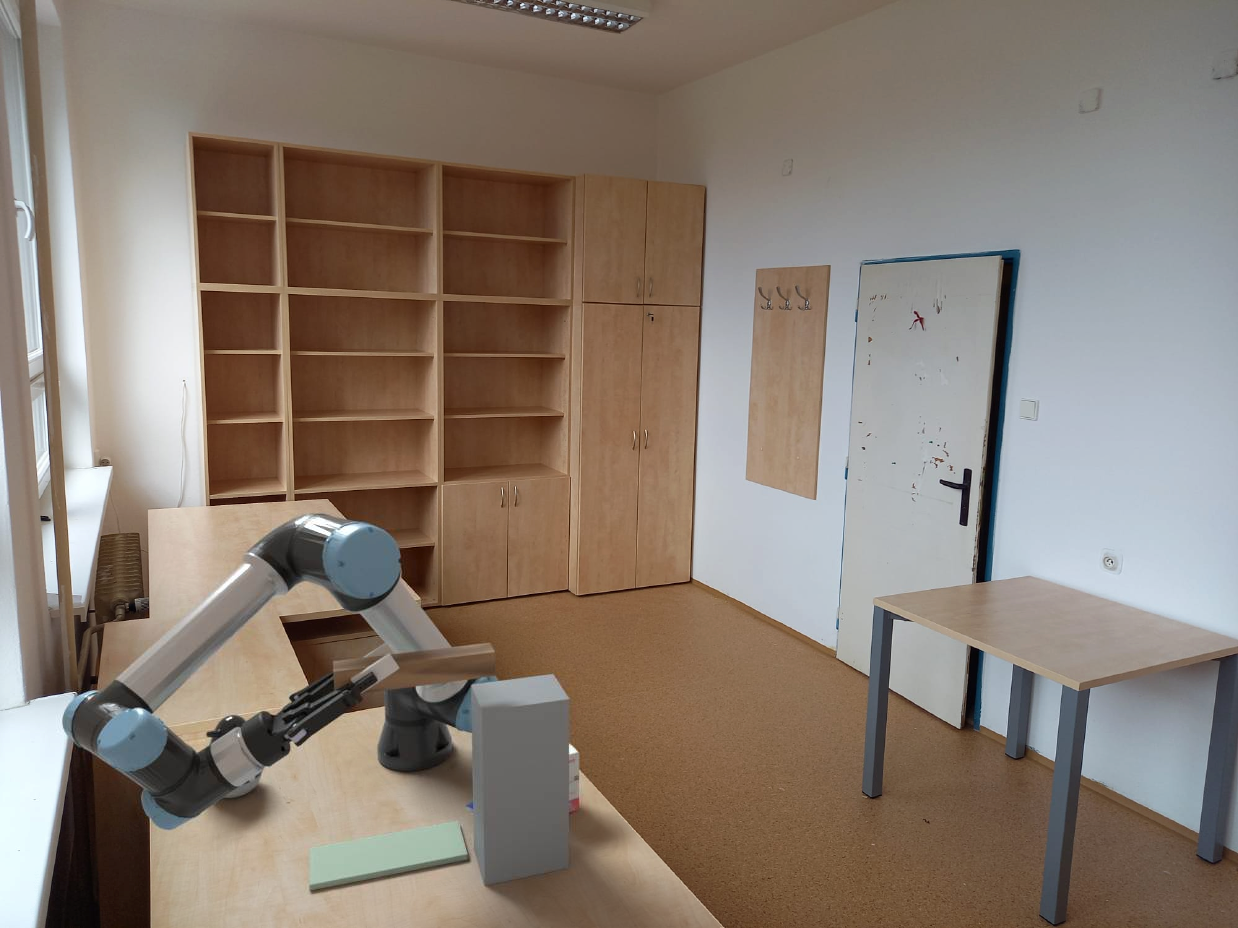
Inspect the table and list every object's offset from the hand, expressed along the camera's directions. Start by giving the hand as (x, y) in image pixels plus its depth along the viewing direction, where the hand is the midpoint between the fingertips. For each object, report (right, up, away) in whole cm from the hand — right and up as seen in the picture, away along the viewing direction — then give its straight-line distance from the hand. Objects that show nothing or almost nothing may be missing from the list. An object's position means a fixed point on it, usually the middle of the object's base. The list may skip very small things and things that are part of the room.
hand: (392, 654), depth 130 cm
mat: (-4, -37, +14) cm, 40 cm away
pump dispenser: (-39, -33, +33) cm, 61 cm away
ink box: (+22, -35, +28) cm, 50 cm away
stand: (+18, -37, +14) cm, 44 cm away
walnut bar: (+3, -4, +2) cm, 6 cm away
